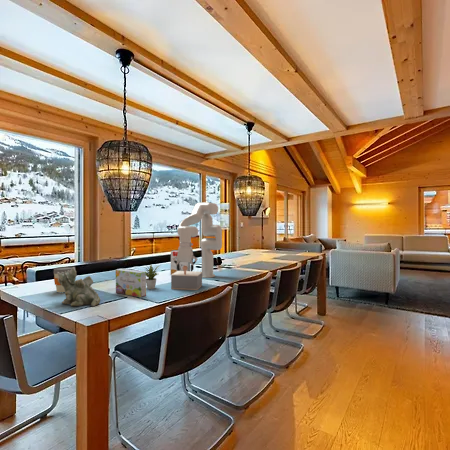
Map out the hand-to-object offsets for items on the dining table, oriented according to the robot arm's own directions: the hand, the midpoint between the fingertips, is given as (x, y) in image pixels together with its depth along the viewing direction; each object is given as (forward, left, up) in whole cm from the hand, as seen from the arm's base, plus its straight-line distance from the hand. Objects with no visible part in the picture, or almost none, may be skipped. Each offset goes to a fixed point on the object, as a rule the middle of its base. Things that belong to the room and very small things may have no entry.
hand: (185, 270), depth 199 cm
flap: (-5, 0, -3) cm, 6 cm away
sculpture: (+42, -48, -12) cm, 65 cm away
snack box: (+20, -29, -12) cm, 37 cm away
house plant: (+1, -23, -12) cm, 26 cm away
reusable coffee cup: (+20, -74, -12) cm, 78 cm away
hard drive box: (-51, -19, -12) cm, 55 cm away
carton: (-5, 0, -12) cm, 13 cm away
